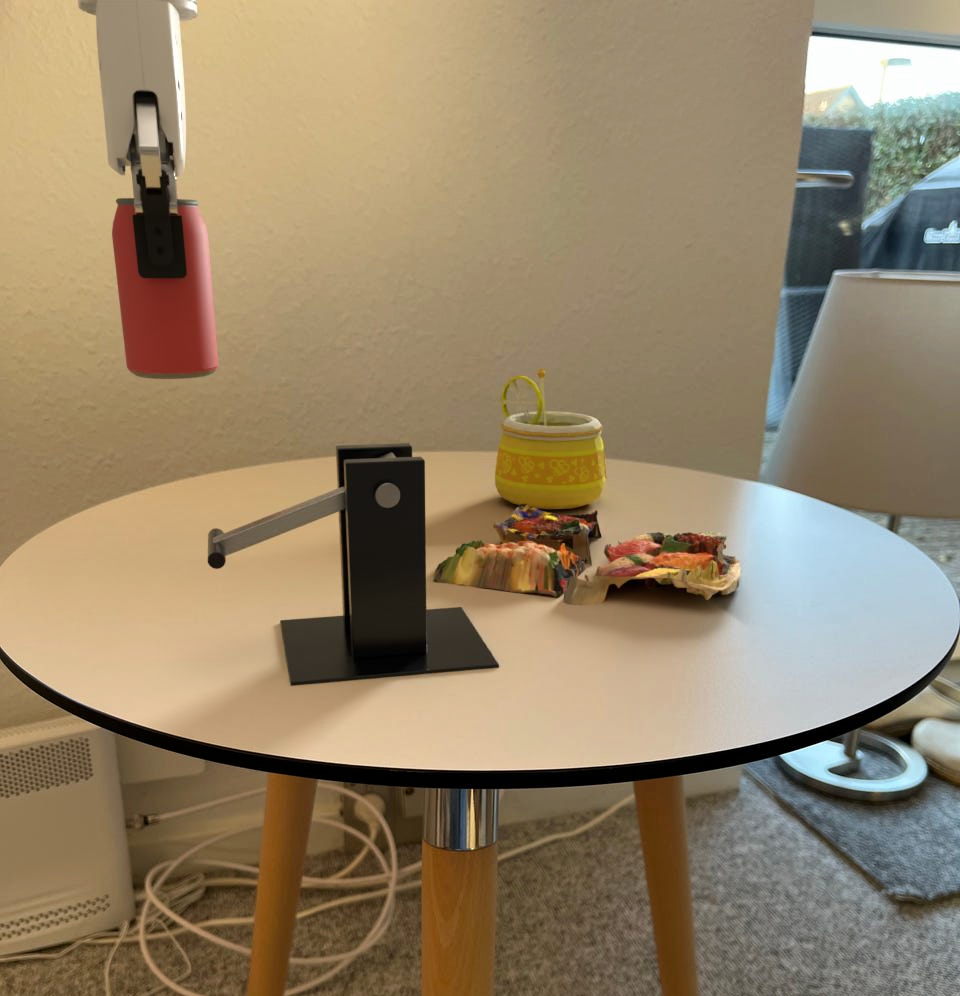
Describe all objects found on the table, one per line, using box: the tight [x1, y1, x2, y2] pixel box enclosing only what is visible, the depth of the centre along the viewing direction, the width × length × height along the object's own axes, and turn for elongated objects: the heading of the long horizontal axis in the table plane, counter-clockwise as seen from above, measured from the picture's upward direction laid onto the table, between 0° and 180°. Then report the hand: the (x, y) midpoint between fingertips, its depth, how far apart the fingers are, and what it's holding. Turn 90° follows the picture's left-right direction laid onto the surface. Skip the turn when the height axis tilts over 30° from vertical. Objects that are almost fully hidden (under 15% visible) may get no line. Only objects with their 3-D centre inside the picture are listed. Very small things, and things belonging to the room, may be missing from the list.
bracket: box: [279, 442, 500, 687], centre depth 60 cm, size 12×10×13 cm
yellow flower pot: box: [494, 368, 608, 510], centre depth 99 cm, size 13×11×12 cm
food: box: [432, 504, 742, 606], centre depth 77 cm, size 22×19×4 cm
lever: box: [207, 452, 396, 570], centre depth 58 cm, size 12×5×2 cm, turn 104°
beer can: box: [111, 197, 219, 380], centre depth 74 cm, size 7×7×12 cm
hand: (164, 273), depth 73 cm, fingers closed on beer can, 6 cm apart
